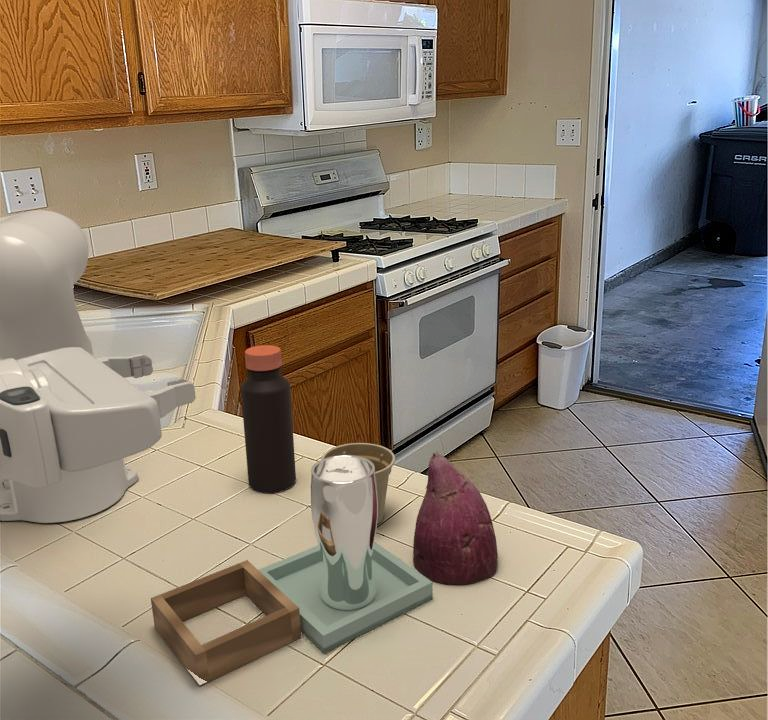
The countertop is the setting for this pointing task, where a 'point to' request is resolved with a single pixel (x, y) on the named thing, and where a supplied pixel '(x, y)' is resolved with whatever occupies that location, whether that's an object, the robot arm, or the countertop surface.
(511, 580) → the countertop surface
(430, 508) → the vegetable
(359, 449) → the flower pot
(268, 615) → the frame
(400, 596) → the tray
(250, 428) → the bottle
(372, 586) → the beer glass
